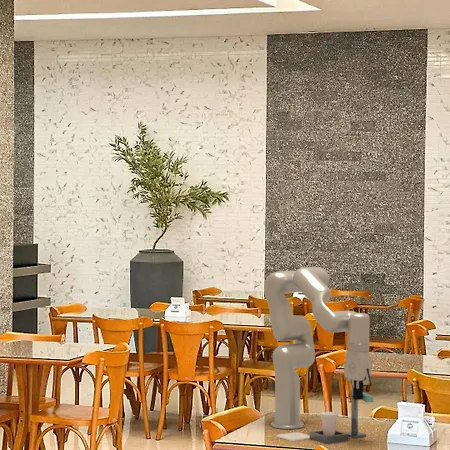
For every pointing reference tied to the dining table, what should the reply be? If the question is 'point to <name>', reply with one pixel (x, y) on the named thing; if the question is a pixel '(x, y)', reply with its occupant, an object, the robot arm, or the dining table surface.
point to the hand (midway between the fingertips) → (357, 399)
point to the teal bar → (365, 397)
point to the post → (354, 420)
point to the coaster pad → (294, 436)
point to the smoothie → (329, 422)
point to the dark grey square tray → (329, 437)
